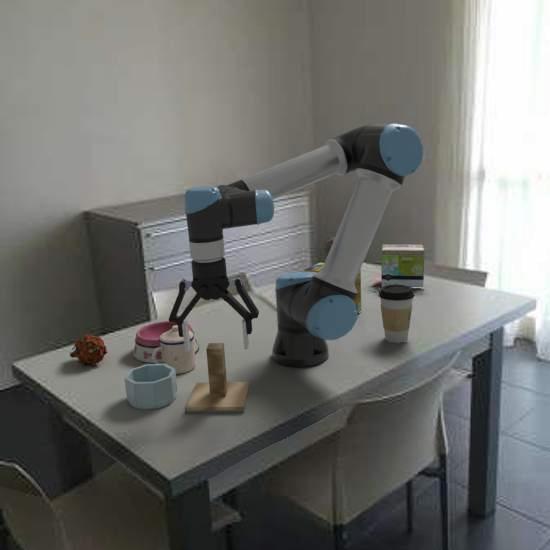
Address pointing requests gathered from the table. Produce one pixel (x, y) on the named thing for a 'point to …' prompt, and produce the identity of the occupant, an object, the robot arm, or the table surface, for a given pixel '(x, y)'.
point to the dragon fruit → (89, 350)
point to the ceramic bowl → (151, 386)
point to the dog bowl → (153, 341)
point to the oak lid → (218, 386)
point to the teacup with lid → (176, 351)
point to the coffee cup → (396, 311)
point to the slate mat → (218, 410)
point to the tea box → (402, 265)
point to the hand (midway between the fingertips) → (217, 348)
